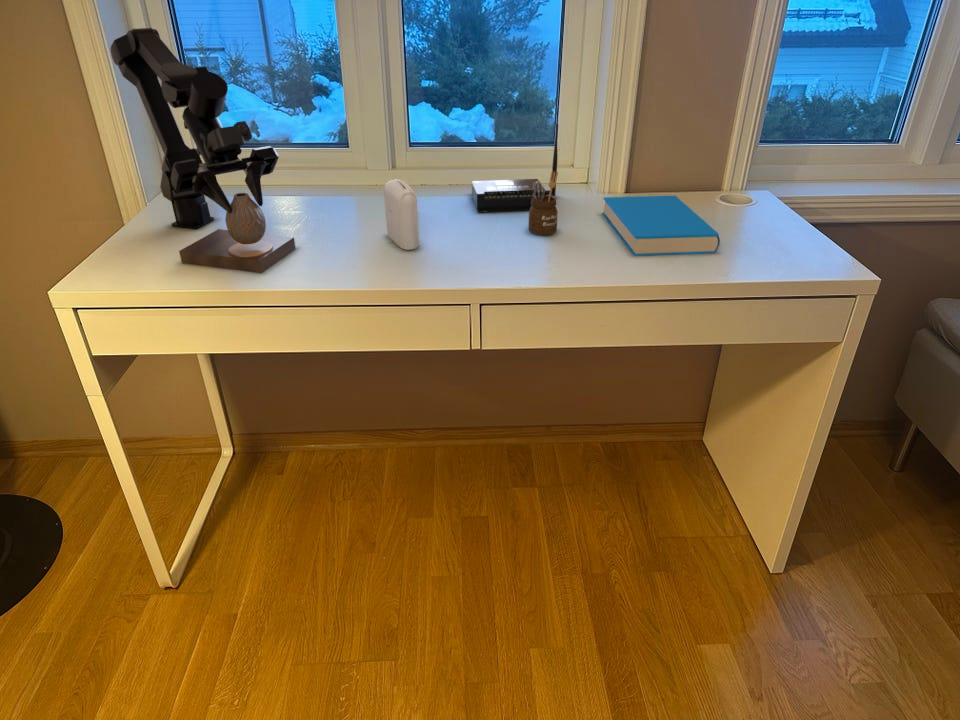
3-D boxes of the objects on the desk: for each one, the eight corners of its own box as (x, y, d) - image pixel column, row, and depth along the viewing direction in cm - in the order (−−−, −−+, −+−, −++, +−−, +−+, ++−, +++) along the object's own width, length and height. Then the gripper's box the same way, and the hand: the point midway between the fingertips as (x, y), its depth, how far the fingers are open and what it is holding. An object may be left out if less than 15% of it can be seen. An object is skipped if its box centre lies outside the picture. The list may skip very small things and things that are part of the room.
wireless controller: (478, 213, 153) (477, 135, 144) (470, 194, 165) (470, 121, 156) (564, 209, 155) (569, 132, 146) (551, 191, 167) (555, 119, 158)
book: (636, 236, 129) (602, 195, 150) (633, 258, 131) (600, 214, 152) (723, 233, 130) (677, 193, 151) (718, 254, 132) (674, 212, 153)
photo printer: (384, 235, 140) (380, 176, 134) (404, 232, 142) (400, 173, 136) (401, 252, 132) (397, 189, 126) (422, 248, 134) (419, 187, 128)
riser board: (181, 263, 127) (178, 249, 126) (221, 240, 138) (218, 227, 136) (261, 273, 123) (258, 259, 122) (295, 249, 134) (293, 235, 132)
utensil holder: (522, 231, 142) (524, 174, 136) (541, 224, 146) (543, 168, 140) (544, 238, 139) (547, 180, 133) (562, 230, 143) (566, 174, 137)
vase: (244, 250, 122) (235, 203, 118) (222, 241, 126) (212, 195, 121) (275, 239, 127) (268, 193, 122) (253, 231, 130) (245, 186, 126)
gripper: (161, 113, 111) (202, 195, 110) (265, 100, 122) (304, 174, 121) (155, 152, 120) (193, 228, 119) (253, 137, 131) (288, 206, 130)
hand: (246, 208), depth 122 cm, fingers closed on vase, 5 cm apart
